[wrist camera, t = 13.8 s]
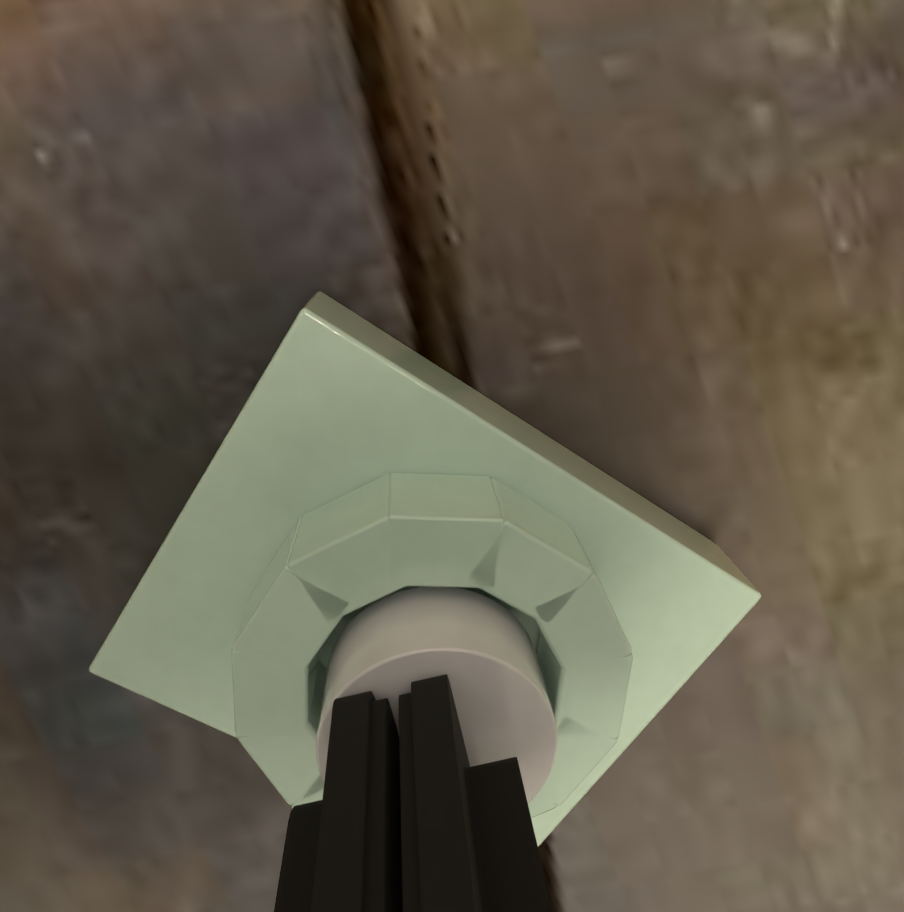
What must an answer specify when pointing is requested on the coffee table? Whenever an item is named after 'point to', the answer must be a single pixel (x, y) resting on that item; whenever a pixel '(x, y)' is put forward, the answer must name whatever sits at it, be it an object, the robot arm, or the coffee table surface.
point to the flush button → (450, 673)
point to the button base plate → (411, 559)
